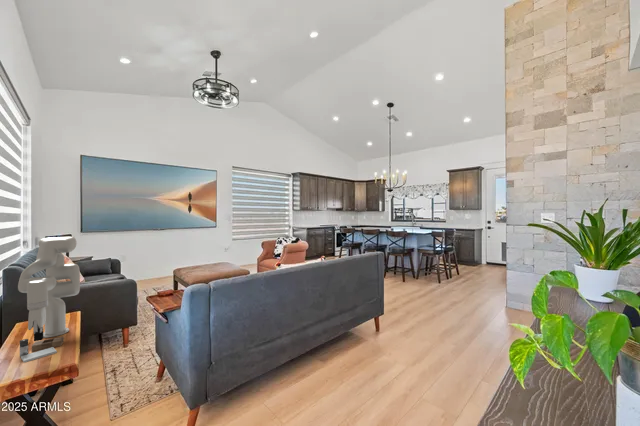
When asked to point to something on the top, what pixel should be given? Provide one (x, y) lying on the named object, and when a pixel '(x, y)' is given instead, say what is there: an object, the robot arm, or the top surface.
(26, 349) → the metal cylinder
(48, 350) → the hard drive
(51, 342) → the block with rectangular opening
